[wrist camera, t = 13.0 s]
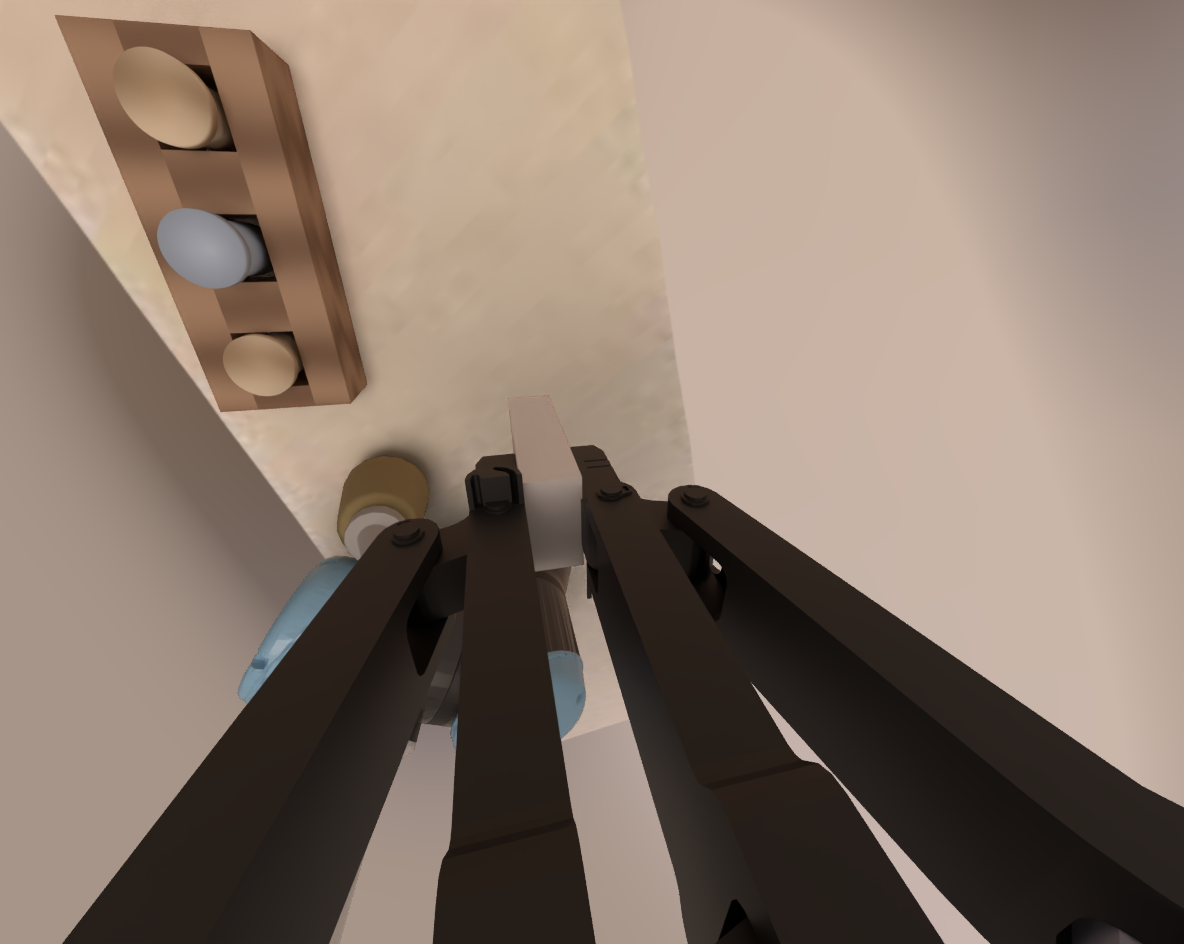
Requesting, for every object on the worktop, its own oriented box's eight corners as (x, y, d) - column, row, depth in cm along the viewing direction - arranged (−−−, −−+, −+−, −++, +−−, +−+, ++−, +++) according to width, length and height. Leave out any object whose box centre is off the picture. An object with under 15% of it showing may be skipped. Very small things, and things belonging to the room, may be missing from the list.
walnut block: (367, 384, 43) (351, 403, 38) (254, 390, 41) (220, 412, 36) (288, 64, 32) (250, 30, 27) (128, 54, 30) (54, 15, 25)
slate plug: (294, 280, 36) (254, 287, 30) (230, 281, 35) (176, 289, 29) (274, 215, 33) (228, 208, 27) (206, 214, 33) (143, 207, 27)
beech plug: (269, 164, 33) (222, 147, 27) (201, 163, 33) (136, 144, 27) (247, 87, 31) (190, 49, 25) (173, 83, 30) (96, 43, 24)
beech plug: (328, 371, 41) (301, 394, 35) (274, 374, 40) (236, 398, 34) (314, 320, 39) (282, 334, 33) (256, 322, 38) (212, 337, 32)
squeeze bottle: (360, 437, 46) (323, 496, 30) (438, 459, 49) (443, 523, 33) (339, 507, 47) (293, 600, 31) (417, 523, 50) (411, 615, 34)
